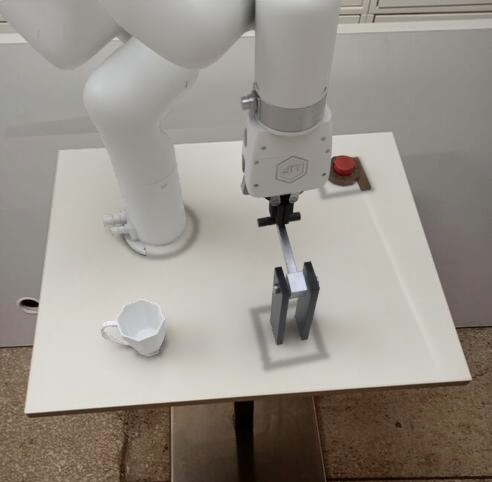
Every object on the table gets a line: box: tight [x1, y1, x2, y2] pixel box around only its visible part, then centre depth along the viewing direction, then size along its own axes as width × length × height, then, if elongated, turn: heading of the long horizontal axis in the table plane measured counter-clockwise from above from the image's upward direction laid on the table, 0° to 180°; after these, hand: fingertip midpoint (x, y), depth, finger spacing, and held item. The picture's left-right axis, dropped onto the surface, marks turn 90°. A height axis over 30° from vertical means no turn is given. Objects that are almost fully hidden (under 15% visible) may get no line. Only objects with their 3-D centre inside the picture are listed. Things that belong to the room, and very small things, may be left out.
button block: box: [328, 154, 372, 192], centre depth 93 cm, size 9×8×2 cm
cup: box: [100, 297, 166, 358], centre depth 74 cm, size 7×10×8 cm
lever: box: [256, 211, 308, 300], centre depth 68 cm, size 12×6×2 cm, turn 12°
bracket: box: [269, 260, 321, 346], centre depth 72 cm, size 10×9×16 cm
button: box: [332, 154, 355, 177], centre depth 92 cm, size 4×4×2 cm
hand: (280, 216), depth 69 cm, fingers closed
